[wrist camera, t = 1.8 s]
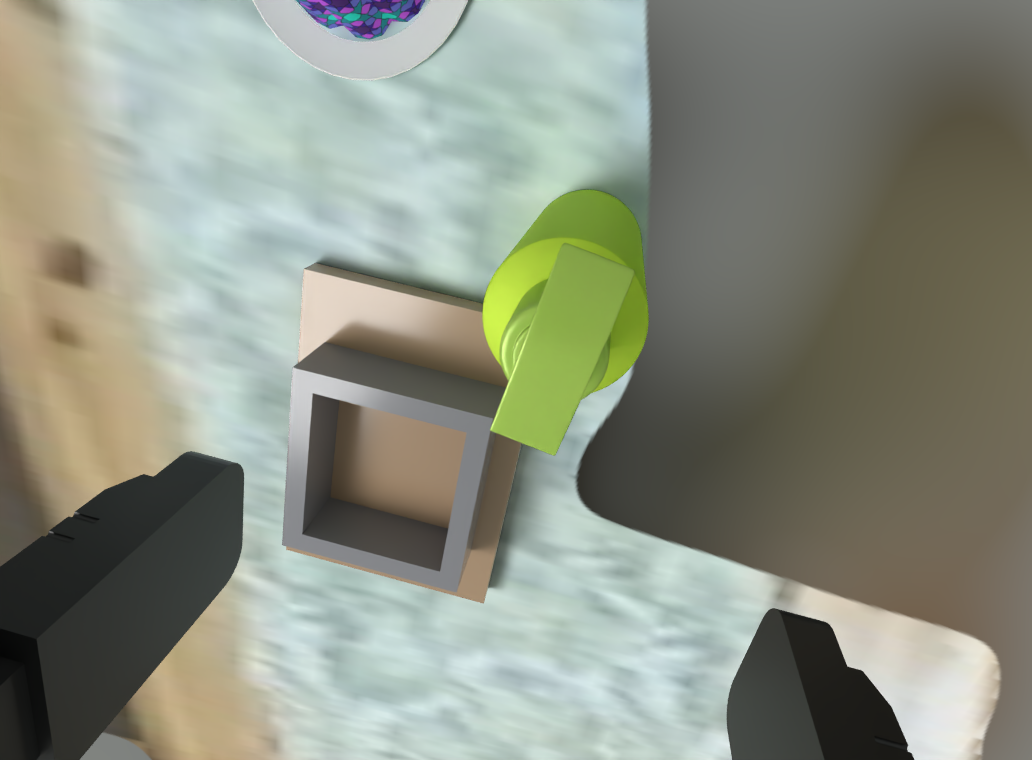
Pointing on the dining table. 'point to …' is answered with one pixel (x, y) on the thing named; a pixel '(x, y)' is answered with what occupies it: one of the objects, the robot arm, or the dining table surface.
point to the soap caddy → (396, 434)
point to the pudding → (361, 33)
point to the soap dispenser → (565, 314)
